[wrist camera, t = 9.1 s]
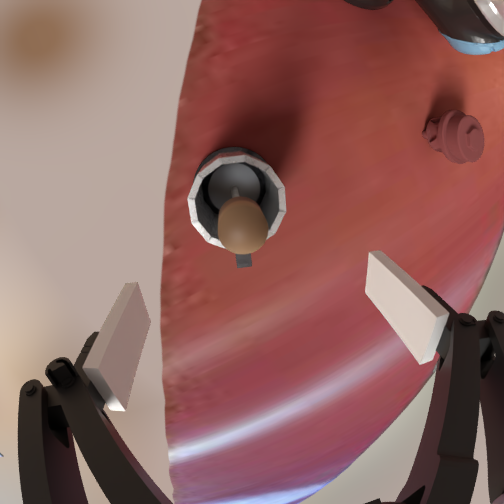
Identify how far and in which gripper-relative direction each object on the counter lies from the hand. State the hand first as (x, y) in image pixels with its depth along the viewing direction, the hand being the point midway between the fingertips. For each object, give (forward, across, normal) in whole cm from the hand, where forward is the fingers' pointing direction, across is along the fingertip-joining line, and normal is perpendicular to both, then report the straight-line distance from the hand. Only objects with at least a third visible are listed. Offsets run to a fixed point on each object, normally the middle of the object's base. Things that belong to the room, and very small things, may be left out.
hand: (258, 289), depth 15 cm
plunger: (+31, 0, 0) cm, 31 cm away
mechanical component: (+33, +40, +8) cm, 52 cm away
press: (+32, 0, -2) cm, 32 cm away
